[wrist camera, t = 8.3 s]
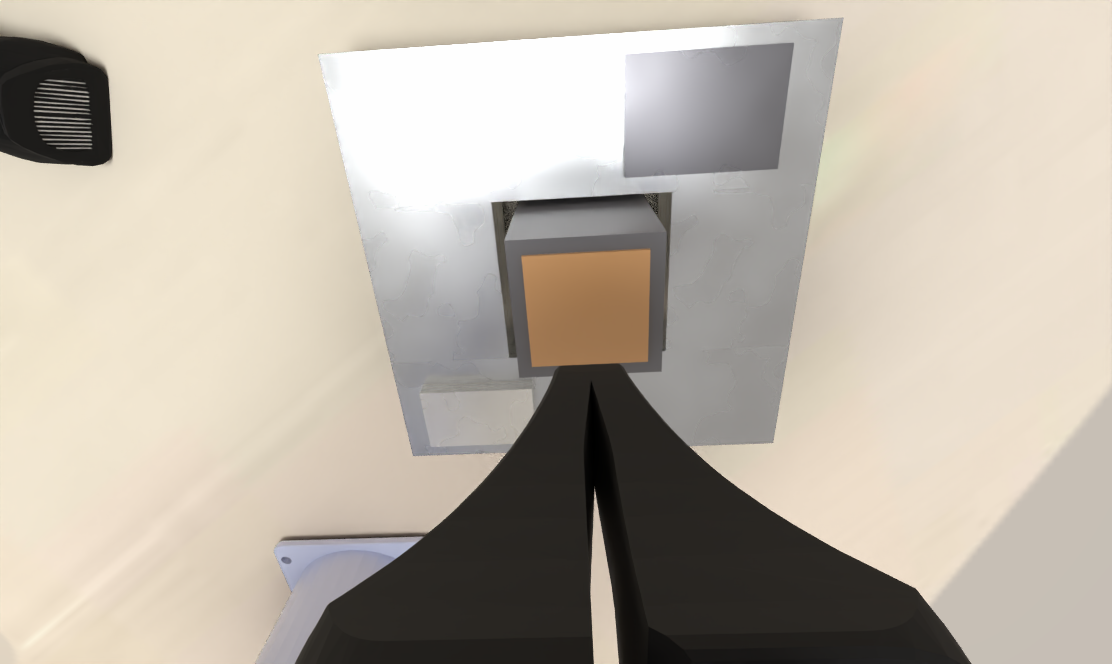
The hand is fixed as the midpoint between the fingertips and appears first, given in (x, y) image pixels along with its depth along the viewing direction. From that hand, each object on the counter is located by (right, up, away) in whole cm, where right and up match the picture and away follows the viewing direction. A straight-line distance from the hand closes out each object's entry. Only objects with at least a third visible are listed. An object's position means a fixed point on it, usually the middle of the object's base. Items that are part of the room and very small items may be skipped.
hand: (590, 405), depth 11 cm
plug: (0, +5, +8) cm, 9 cm away
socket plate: (0, +4, +8) cm, 9 cm away
